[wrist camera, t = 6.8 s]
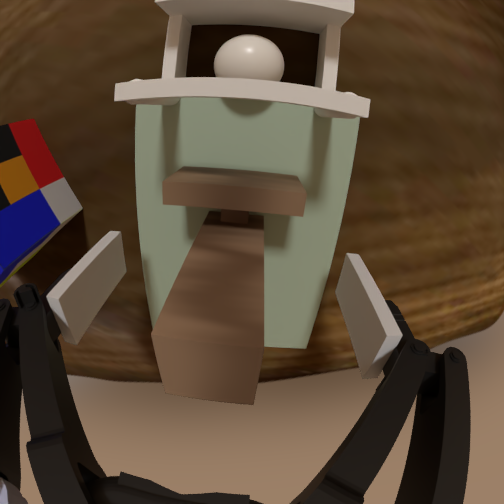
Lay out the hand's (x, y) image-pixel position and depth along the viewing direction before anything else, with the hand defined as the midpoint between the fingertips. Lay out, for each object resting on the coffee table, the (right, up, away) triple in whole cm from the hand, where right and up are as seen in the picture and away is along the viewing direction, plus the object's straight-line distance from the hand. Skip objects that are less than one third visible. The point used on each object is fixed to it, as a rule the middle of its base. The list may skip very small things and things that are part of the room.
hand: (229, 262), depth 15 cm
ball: (+1, +11, -2) cm, 12 cm away
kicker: (0, +3, +2) cm, 4 cm away
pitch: (0, +5, +3) cm, 6 cm away
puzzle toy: (-20, +6, +4) cm, 21 cm away
